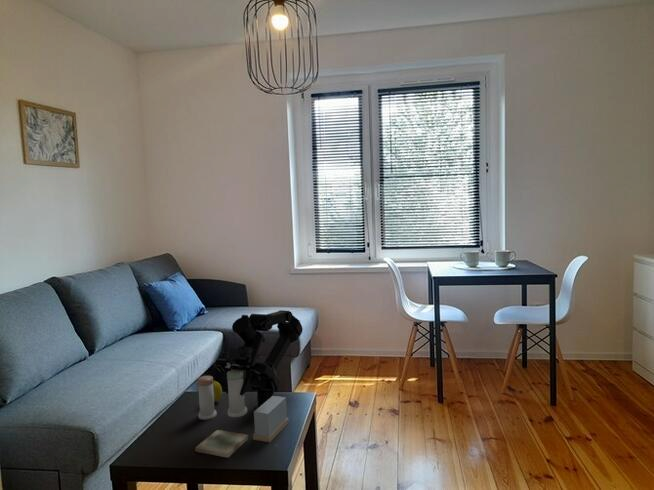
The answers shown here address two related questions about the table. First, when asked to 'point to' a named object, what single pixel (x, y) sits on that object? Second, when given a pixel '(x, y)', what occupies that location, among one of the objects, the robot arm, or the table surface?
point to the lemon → (217, 390)
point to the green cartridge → (236, 393)
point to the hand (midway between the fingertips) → (233, 394)
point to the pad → (222, 443)
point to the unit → (270, 419)
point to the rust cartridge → (206, 398)
